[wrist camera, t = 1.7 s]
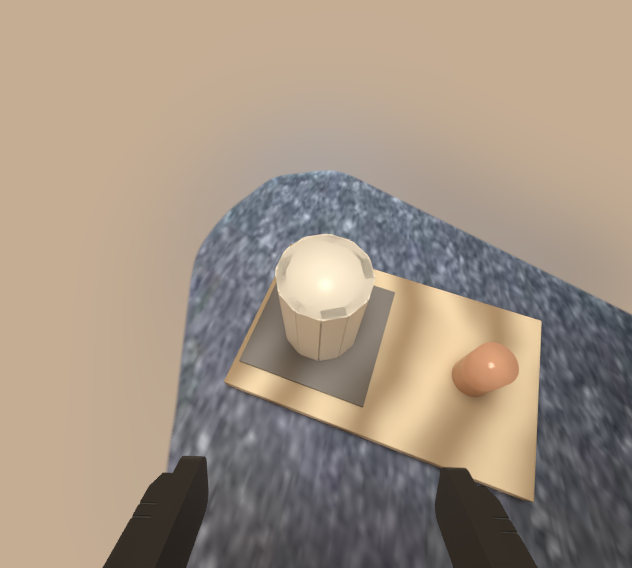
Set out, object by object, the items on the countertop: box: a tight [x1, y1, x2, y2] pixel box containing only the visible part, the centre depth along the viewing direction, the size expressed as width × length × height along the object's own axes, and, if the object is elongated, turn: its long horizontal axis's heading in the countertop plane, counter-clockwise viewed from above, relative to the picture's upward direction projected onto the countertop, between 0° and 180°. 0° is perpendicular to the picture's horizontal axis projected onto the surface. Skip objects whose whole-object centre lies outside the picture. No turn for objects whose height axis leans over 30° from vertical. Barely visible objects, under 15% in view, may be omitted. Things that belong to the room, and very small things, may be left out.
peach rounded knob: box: [452, 342, 519, 397], centre depth 27 cm, size 3×3×4 cm
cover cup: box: [275, 234, 375, 361], centre depth 26 cm, size 6×6×9 cm
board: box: [224, 244, 541, 502], centre depth 30 cm, size 25×15×2 cm, turn 70°
